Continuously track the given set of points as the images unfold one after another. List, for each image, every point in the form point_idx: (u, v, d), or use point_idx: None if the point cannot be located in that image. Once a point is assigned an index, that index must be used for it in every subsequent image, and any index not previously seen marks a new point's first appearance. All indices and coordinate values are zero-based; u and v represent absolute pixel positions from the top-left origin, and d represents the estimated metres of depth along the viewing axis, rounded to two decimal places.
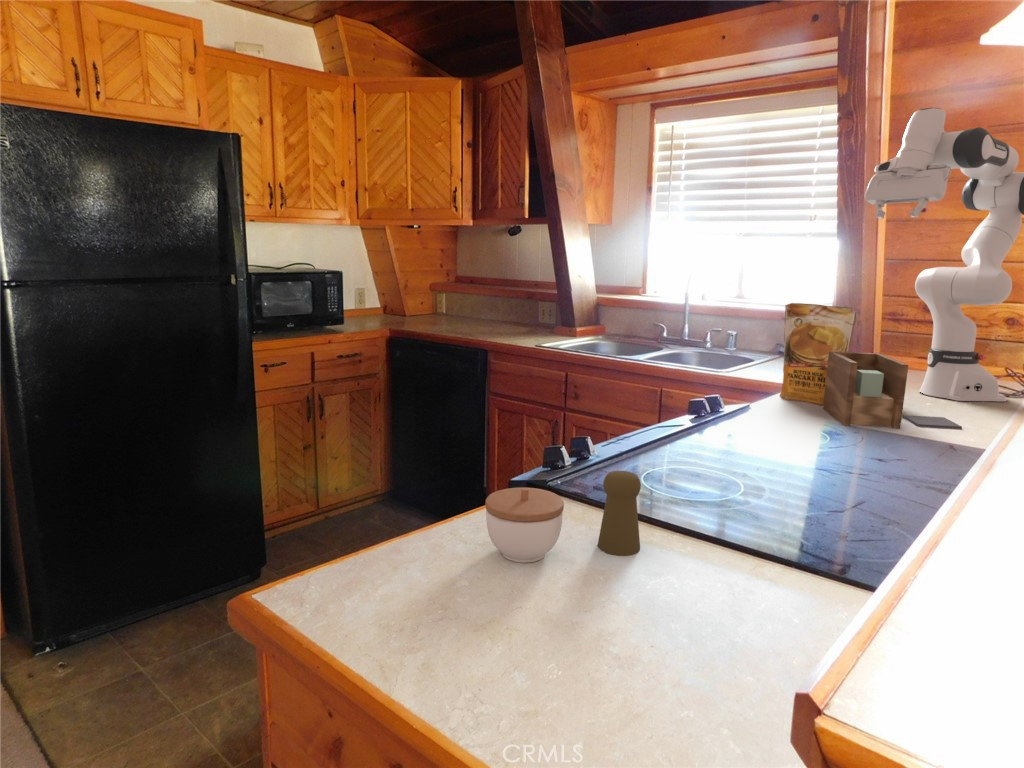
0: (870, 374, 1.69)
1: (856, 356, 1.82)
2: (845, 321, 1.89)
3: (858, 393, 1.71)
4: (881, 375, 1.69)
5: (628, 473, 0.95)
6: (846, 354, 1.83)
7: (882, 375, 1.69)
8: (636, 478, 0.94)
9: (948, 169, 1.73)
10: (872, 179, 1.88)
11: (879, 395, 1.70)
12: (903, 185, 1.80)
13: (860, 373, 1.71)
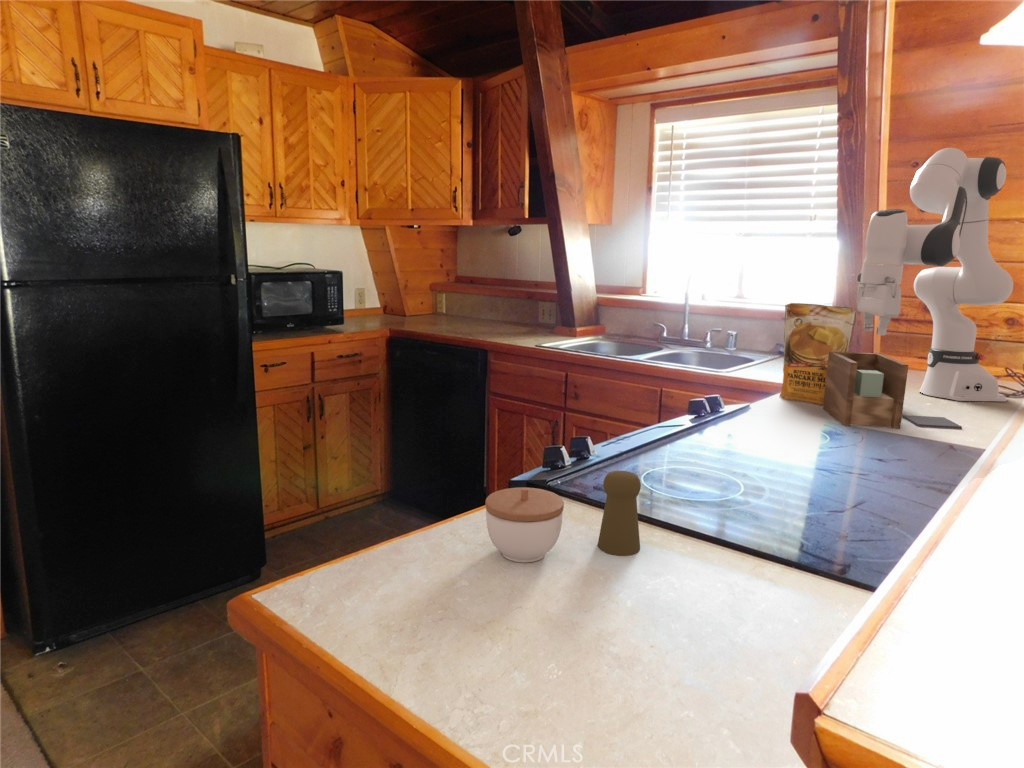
0: (870, 374, 1.69)
1: (856, 356, 1.82)
2: (845, 321, 1.89)
3: (858, 393, 1.71)
4: (881, 375, 1.69)
5: (628, 473, 0.95)
6: (846, 354, 1.83)
7: (882, 375, 1.69)
8: (636, 478, 0.94)
9: (893, 285, 1.57)
10: (858, 289, 1.76)
11: (879, 395, 1.70)
12: (871, 300, 1.68)
13: (860, 373, 1.71)
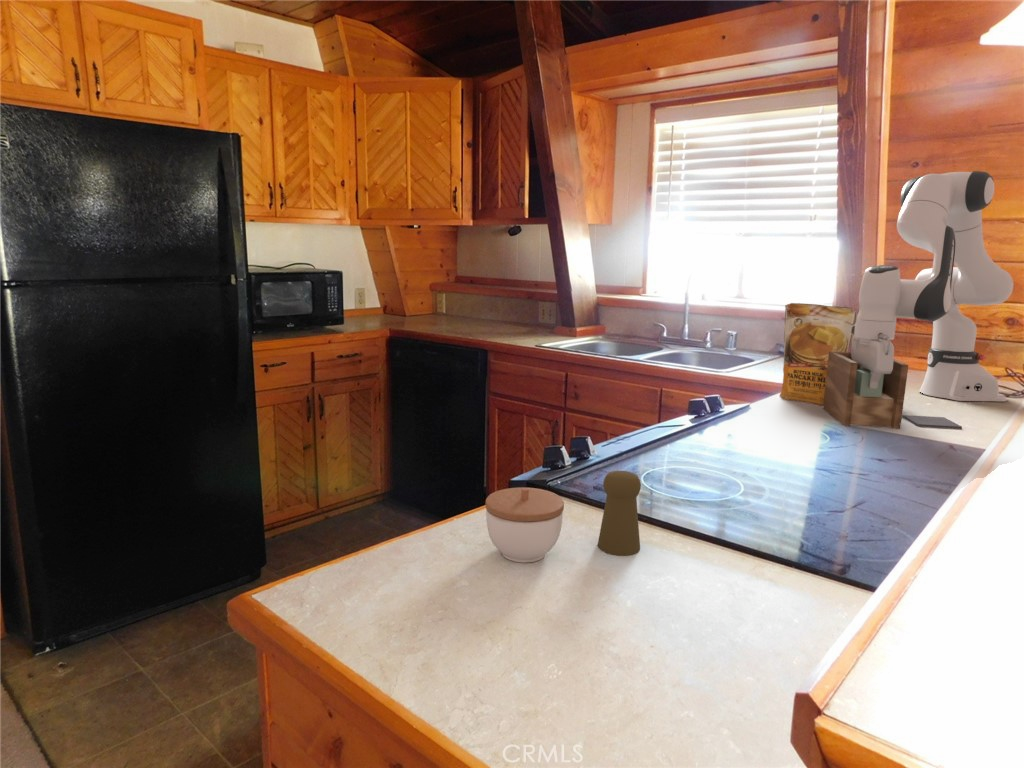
0: (870, 374, 1.69)
1: None
2: (845, 321, 1.89)
3: (858, 393, 1.71)
4: (881, 375, 1.69)
5: (628, 473, 0.95)
6: (846, 354, 1.83)
7: (882, 375, 1.69)
8: (636, 478, 0.94)
9: (886, 342, 1.60)
10: (852, 340, 1.79)
11: (879, 395, 1.70)
12: (864, 353, 1.70)
13: (860, 373, 1.71)
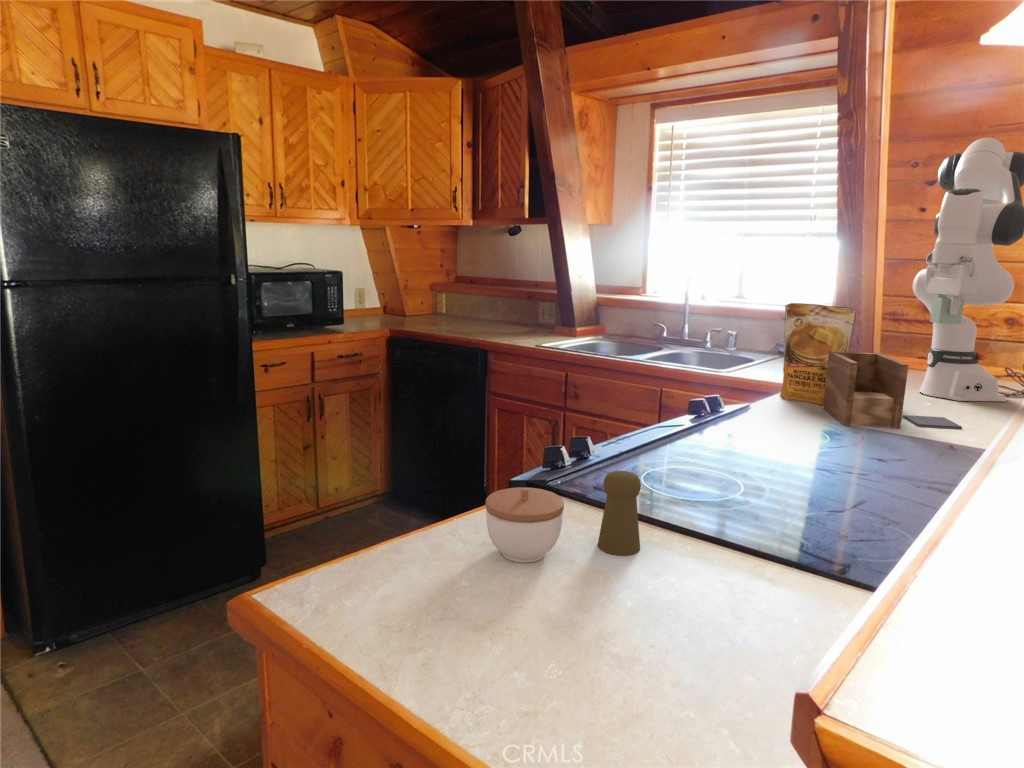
0: (950, 300, 1.66)
1: (856, 356, 1.82)
2: (845, 321, 1.89)
3: (936, 321, 1.68)
4: None
5: (628, 473, 0.95)
6: (846, 354, 1.83)
7: (962, 301, 1.65)
8: (636, 478, 0.94)
9: (971, 264, 1.57)
10: (927, 270, 1.75)
11: (959, 322, 1.66)
12: (943, 280, 1.67)
13: (939, 300, 1.67)
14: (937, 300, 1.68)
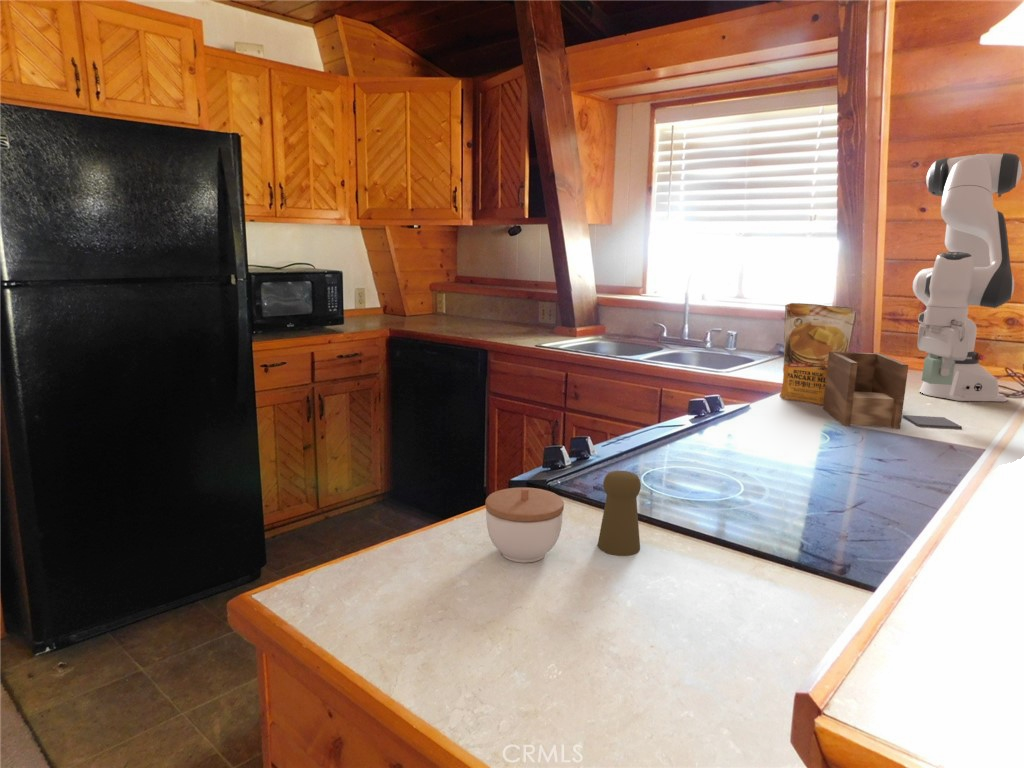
0: (941, 361, 1.68)
1: (856, 356, 1.82)
2: (845, 321, 1.89)
3: (928, 380, 1.71)
4: None
5: (628, 473, 0.95)
6: (846, 354, 1.83)
7: (953, 362, 1.68)
8: (636, 477, 0.94)
9: (961, 329, 1.59)
10: (919, 328, 1.78)
11: (950, 382, 1.69)
12: (935, 341, 1.70)
13: (930, 360, 1.70)
14: (928, 360, 1.71)
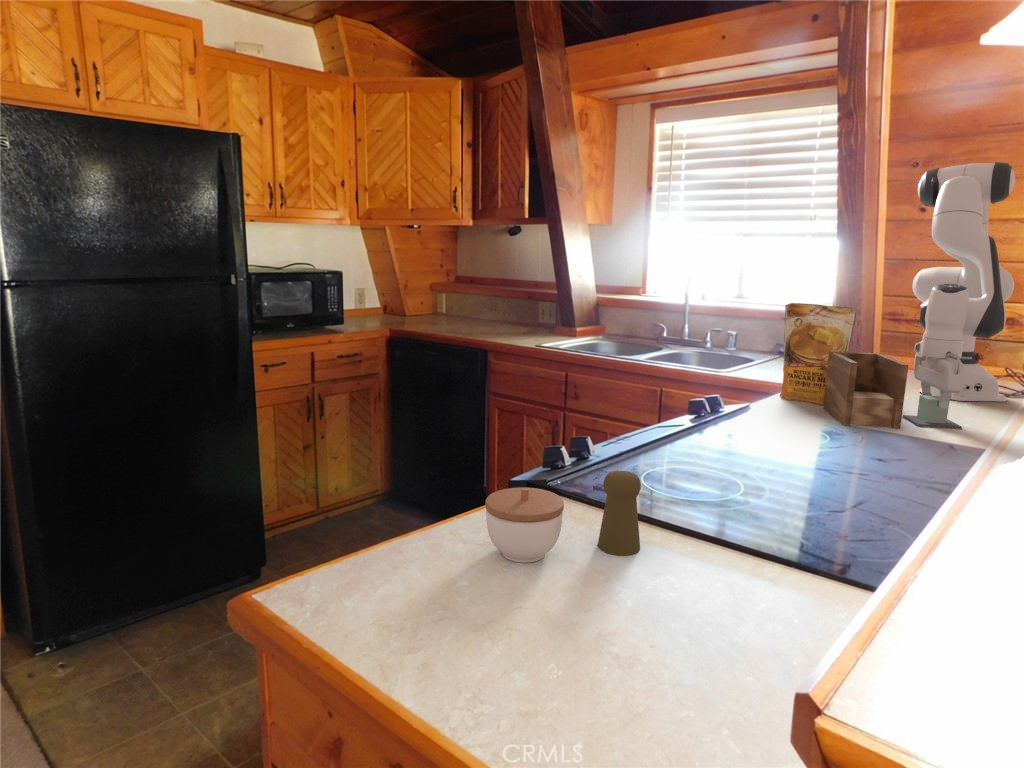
0: (935, 400, 1.70)
1: (856, 356, 1.82)
2: (845, 321, 1.89)
3: (923, 419, 1.73)
4: None
5: (628, 473, 0.95)
6: (846, 354, 1.83)
7: (948, 401, 1.70)
8: (636, 478, 0.94)
9: (956, 362, 1.61)
10: (915, 358, 1.80)
11: (944, 421, 1.71)
12: (931, 372, 1.71)
13: (925, 399, 1.72)
14: (923, 399, 1.73)
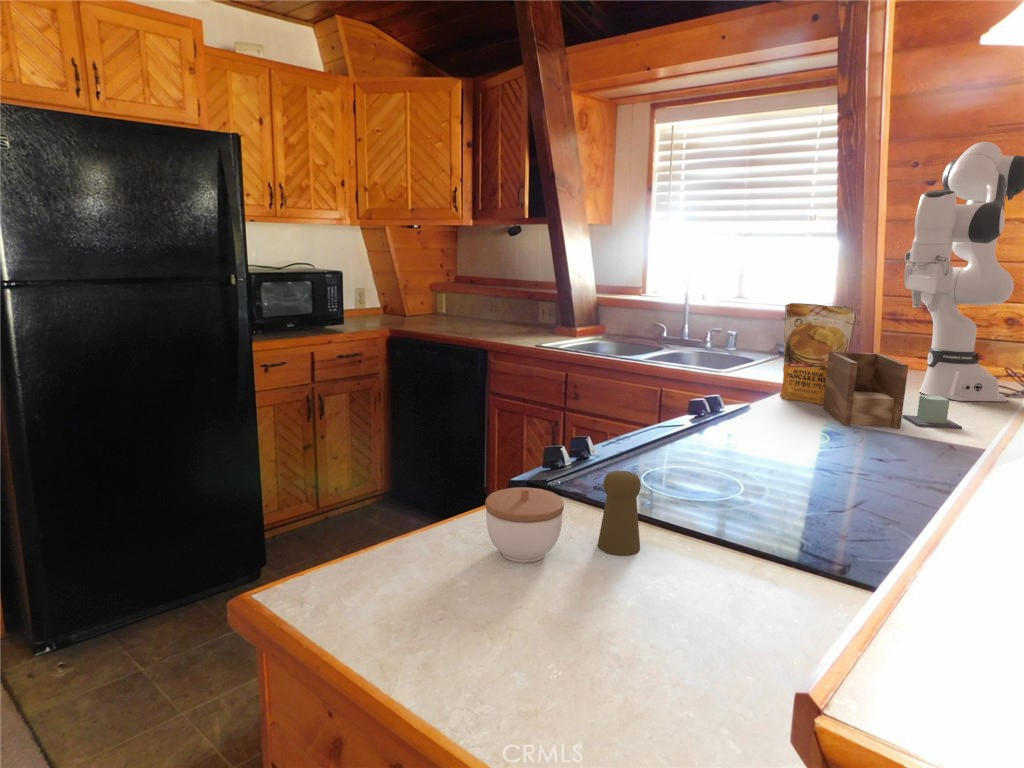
0: (935, 400, 1.70)
1: (856, 356, 1.82)
2: (845, 321, 1.89)
3: (923, 419, 1.73)
4: (947, 401, 1.70)
5: (628, 473, 0.95)
6: (846, 354, 1.83)
7: (948, 401, 1.70)
8: (636, 478, 0.94)
9: (945, 263, 1.65)
10: (905, 267, 1.84)
11: (944, 421, 1.71)
12: (921, 278, 1.75)
13: (925, 399, 1.72)
14: (923, 399, 1.73)
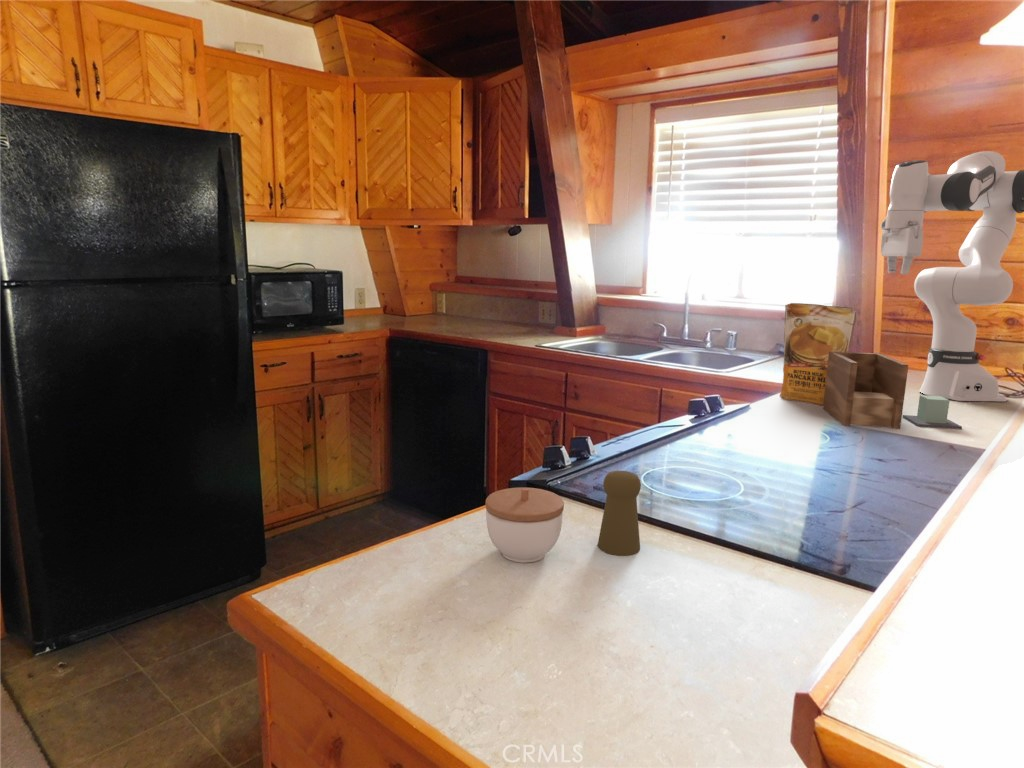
0: (935, 400, 1.70)
1: (856, 356, 1.82)
2: (845, 321, 1.89)
3: (923, 419, 1.73)
4: (947, 401, 1.70)
5: (628, 473, 0.95)
6: (846, 354, 1.83)
7: (948, 401, 1.70)
8: (636, 478, 0.94)
9: (916, 227, 1.76)
10: (882, 236, 1.95)
11: (944, 421, 1.71)
12: (895, 243, 1.86)
13: (925, 399, 1.72)
14: (923, 399, 1.73)
